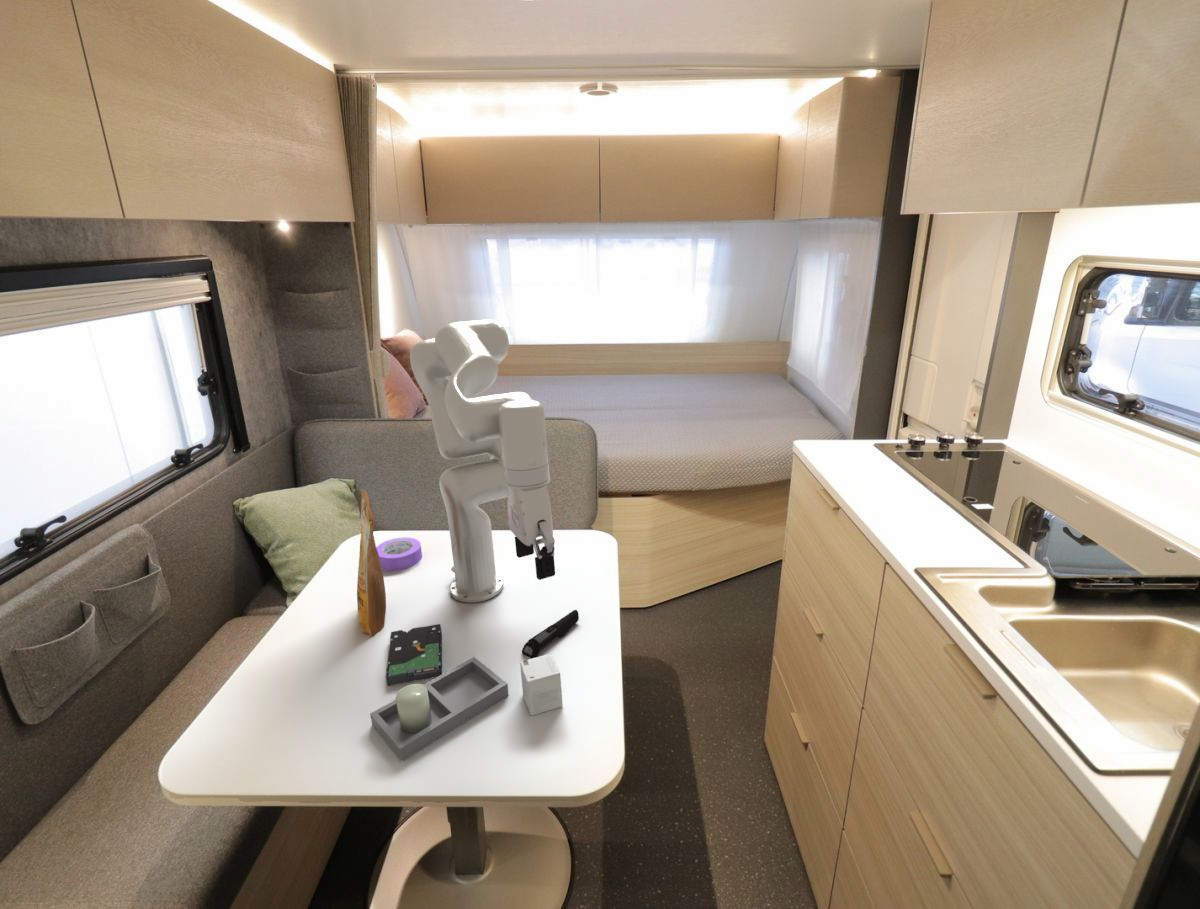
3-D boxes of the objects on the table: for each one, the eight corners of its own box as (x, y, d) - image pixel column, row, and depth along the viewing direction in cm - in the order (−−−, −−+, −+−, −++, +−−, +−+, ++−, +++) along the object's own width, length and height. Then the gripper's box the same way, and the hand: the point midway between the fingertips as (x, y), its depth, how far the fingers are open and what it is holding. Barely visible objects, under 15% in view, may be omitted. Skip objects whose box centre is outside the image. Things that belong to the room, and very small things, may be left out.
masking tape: (429, 550, 166) (427, 537, 165) (411, 571, 155) (409, 558, 154) (388, 548, 168) (386, 536, 166) (368, 570, 157) (366, 557, 156)
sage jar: (395, 722, 105) (390, 694, 103) (422, 707, 108) (418, 679, 106) (409, 738, 101) (404, 709, 99) (437, 722, 105) (433, 693, 103)
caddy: (402, 761, 98) (399, 748, 97) (372, 725, 105) (369, 713, 104) (508, 695, 111) (507, 683, 110) (475, 667, 119) (474, 656, 118)
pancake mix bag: (392, 591, 146) (375, 483, 137) (392, 637, 129) (372, 517, 120) (363, 596, 144) (343, 488, 135) (359, 643, 127) (335, 522, 118)
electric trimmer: (583, 624, 132) (583, 612, 131) (534, 661, 120) (533, 647, 119) (570, 618, 134) (570, 606, 133) (520, 654, 123) (519, 640, 122)
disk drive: (391, 643, 128) (387, 688, 114) (389, 631, 127) (385, 676, 114) (442, 634, 131) (443, 677, 117) (440, 622, 130) (442, 665, 116)
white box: (563, 707, 108) (561, 673, 106) (530, 716, 106) (527, 682, 104) (553, 685, 113) (551, 652, 111) (521, 694, 111) (519, 660, 109)
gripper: (489, 465, 108) (499, 552, 113) (524, 493, 93) (533, 592, 98) (529, 457, 111) (536, 543, 116) (568, 483, 96) (575, 580, 101)
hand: (535, 565), depth 107 cm, fingers open, 9 cm apart
